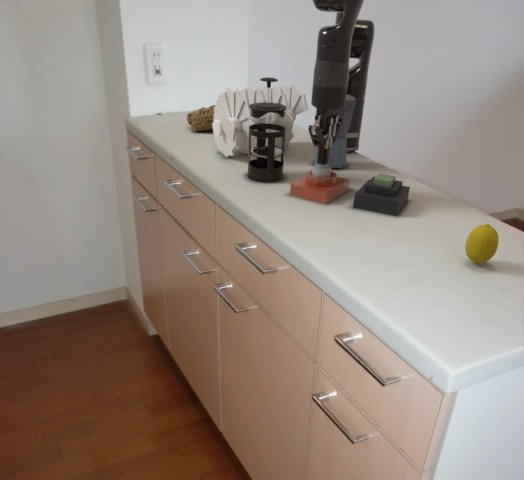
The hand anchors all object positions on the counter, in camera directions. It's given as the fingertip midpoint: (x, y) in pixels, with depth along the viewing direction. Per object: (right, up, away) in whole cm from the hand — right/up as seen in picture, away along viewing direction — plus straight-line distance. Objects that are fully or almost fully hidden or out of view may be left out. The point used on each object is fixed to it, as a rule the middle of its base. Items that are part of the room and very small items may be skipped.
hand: (322, 163), depth 129 cm
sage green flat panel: (+14, -6, -4) cm, 15 cm away
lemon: (+26, -28, -25) cm, 45 cm away
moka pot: (+5, +7, +22) cm, 24 cm away
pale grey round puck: (0, -2, +2) cm, 3 cm away
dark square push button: (+13, -10, -1) cm, 17 cm away
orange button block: (0, -6, +4) cm, 7 cm away
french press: (-13, +1, +13) cm, 19 cm away
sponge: (-29, +29, +52) cm, 66 cm away
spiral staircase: (-16, +13, +30) cm, 37 cm away
